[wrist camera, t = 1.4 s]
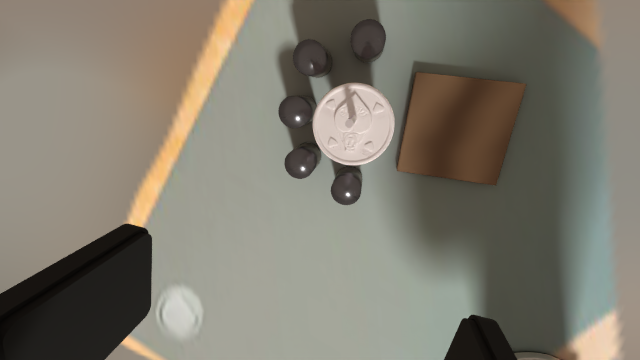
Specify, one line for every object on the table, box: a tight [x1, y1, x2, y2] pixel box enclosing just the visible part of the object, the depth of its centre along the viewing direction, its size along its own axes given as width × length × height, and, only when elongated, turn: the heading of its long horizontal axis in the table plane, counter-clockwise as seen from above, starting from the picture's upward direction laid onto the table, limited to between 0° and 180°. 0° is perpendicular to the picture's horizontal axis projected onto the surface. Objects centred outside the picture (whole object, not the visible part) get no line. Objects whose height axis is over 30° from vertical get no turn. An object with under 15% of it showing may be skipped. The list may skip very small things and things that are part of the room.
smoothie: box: [313, 83, 394, 165], centre depth 25 cm, size 6×6×14 cm
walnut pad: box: [397, 72, 526, 185], centre depth 30 cm, size 10×10×1 cm
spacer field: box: [279, 19, 386, 205], centre depth 30 cm, size 9×17×4 cm, turn 174°
